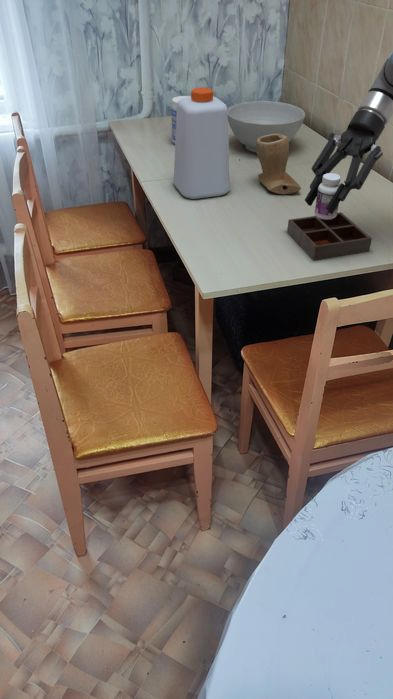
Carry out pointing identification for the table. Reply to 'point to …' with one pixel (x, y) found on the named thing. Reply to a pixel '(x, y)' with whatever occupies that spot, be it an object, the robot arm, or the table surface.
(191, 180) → the plastic bottle
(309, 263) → the table surface
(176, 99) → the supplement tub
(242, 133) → the decorative bowl
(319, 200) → the pill bottle
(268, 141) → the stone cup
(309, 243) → the grid
